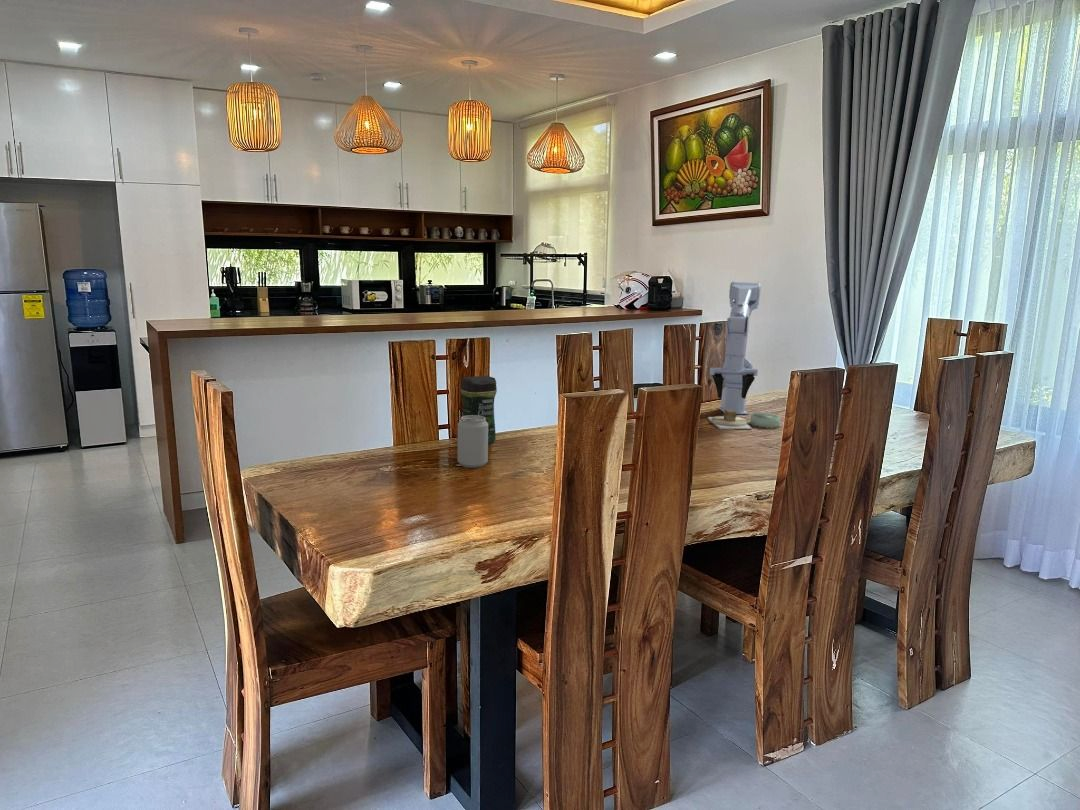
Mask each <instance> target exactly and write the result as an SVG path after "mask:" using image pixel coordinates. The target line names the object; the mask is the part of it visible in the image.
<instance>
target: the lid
mask: <svg viewBox="0 0 1080 810" xmlns="http://www.w3.org/2000/svg"><path fill="white" fill-rule="evenodd" d="M712 417H713V418H712V422H713V423H715V424H719V425H724V426H745V425H748V420H747V419H745V418H742V417H739V416H737V414H736V412H735V411H734V410H732V409H725V410H724V412H723V415H717V416H712ZM712 422H711V423H712ZM713 423H712V424H713Z"/></svg>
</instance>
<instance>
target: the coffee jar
mask: <svg viewBox="0 0 1080 810" xmlns="http://www.w3.org/2000/svg"><path fill="white" fill-rule="evenodd" d="M497 391H498V389H497V380H496V377H493V376H489V375H478V376H475V375H474V376H467V377H465V376H464V377H463V378H462V379H461V384H460V394H461V397H462V411H461V417H462V416H467V415H478V416H483V417H485V418H486V420H485V421H486V422H487V423H488V445H489V444H493V443H495V441H496V434H497V433H496V424H495V397H496V395H497V393H498V392H497Z"/></svg>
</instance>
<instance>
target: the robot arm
mask: <svg viewBox="0 0 1080 810" xmlns="http://www.w3.org/2000/svg"><path fill="white" fill-rule="evenodd" d="M729 284H730V285H729V290H728V291H729V297H728V298H729V305H730V308H731V311H730V314H729V317H727V318H726V325H725V333H726V338H725V340H726V344H725V345H726V347H725V357H724V362H723V364H722V365H723V366H722V367H709V375H711V377H712V380H713V382H714V384H715V389H716V394H717V398H718V399H721V402H720V404H721V405H720V406H718V407H717V408H718V409H719V410H720V411H721V412H723V413H724V410H725V409H732V410H734V411H735V412H736V415H749V412H748V411H747V410H746V403H747V395H748V392H749V389H750V387H751V385H752V384H753V382H754V381H755V378H756V376H758V369H757V368H753V364H752V362H751V361H750V360H749V359H747V358H746V356H747V355H746V354H747V344H748V333H749V328H750V327H749V326H750V316H751V315H752V312H753V311H754V310H756V309H758V307H759V306H760V297H761V289H762V287H761V286H762V285H761V283H760V282H758V281H757V282H751V281H750V282H746V281H733V280H732V281H731V282H730V283H729ZM723 385H724V387H723Z"/></svg>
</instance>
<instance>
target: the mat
mask: <svg viewBox="0 0 1080 810" xmlns="http://www.w3.org/2000/svg"><path fill="white" fill-rule="evenodd" d="M713 417H714V416H707V420H708V421H709V422H711V423H712V424H713V425H714V426H715V427H717V429H719V430H735V429H752V430H753V427H751V425H749V424H747V425H745V426H724V425H719V424H715V423H713V422H712V418H713Z"/></svg>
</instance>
